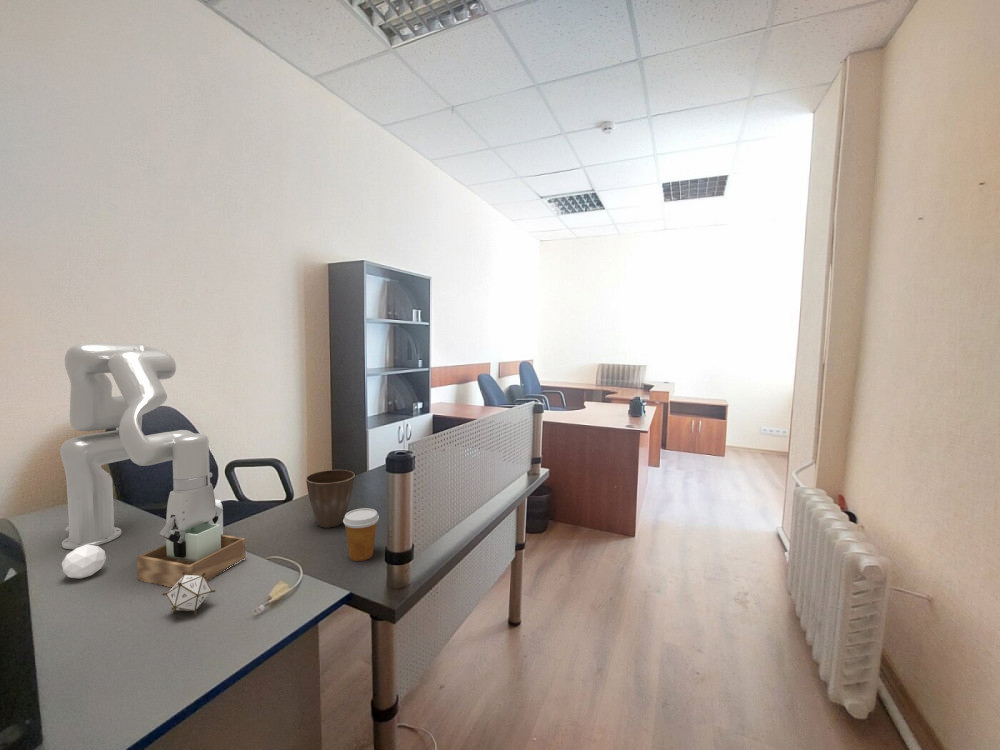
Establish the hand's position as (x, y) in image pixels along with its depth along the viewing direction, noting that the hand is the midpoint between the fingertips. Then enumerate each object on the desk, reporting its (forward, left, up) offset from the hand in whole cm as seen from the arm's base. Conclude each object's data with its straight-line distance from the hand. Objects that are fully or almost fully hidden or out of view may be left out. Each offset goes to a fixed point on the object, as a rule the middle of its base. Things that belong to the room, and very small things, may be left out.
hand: (194, 549), depth 108 cm
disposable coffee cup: (+37, +19, -6) cm, 42 cm away
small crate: (0, 0, -1) cm, 1 cm away
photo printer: (-13, +13, -6) cm, 19 cm away
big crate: (0, 0, -5) cm, 5 cm away
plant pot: (+15, +35, -6) cm, 38 cm away
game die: (+15, -13, -6) cm, 21 cm away
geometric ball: (-23, -10, -6) cm, 26 cm away
